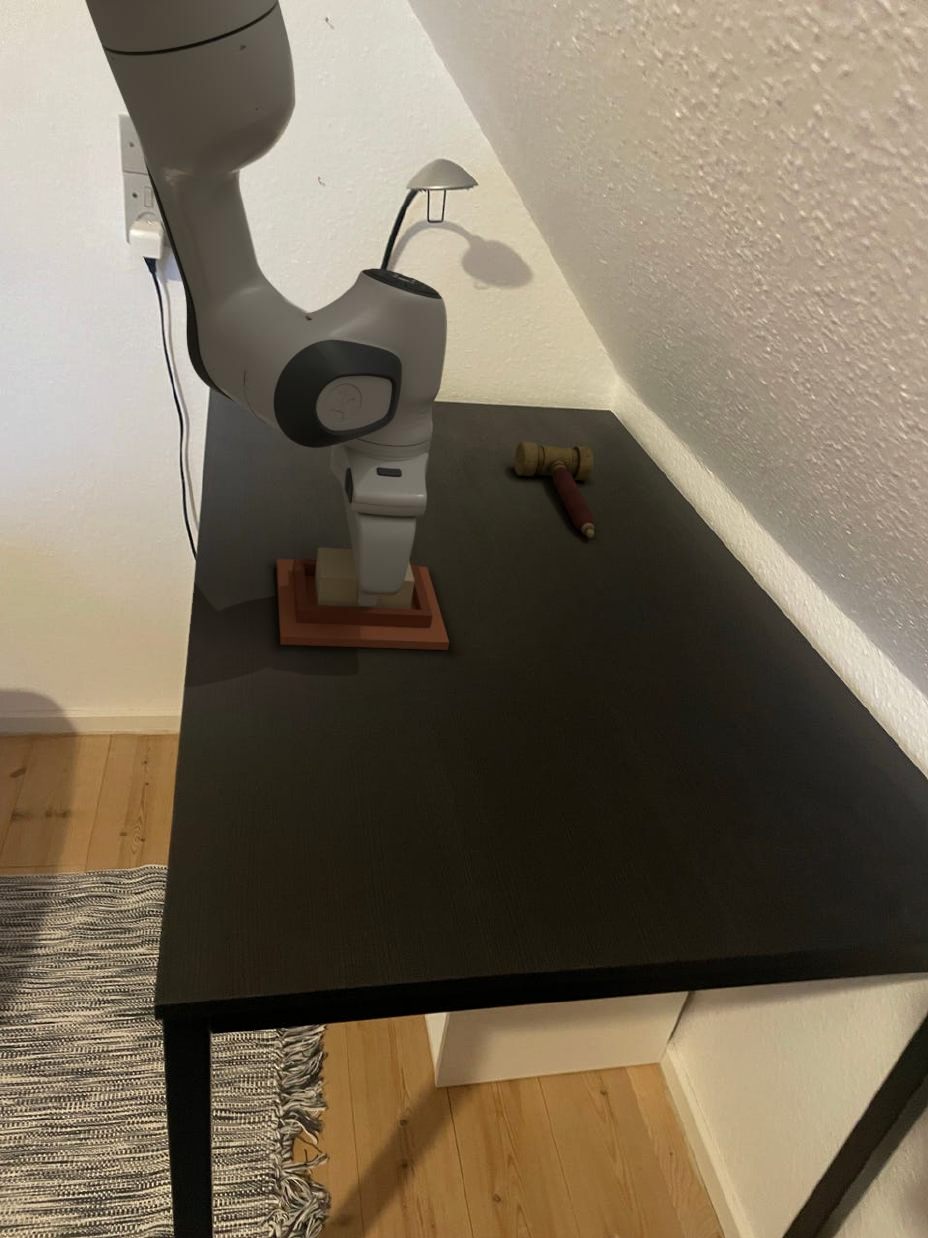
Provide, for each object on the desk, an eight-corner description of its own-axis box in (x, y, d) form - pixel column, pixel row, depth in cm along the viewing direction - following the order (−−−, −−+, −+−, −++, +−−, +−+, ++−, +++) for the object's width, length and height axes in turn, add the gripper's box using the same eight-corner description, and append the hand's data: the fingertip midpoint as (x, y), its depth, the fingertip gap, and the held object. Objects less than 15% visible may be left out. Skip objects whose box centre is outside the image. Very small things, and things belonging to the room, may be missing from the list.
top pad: (317, 611, 91) (321, 576, 89) (314, 581, 96) (318, 547, 94) (409, 615, 94) (414, 580, 92) (401, 585, 98) (407, 552, 96)
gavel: (634, 522, 115) (557, 517, 113) (623, 553, 118) (548, 548, 116) (587, 441, 132) (519, 435, 129) (579, 470, 134) (511, 464, 132)
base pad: (280, 644, 88) (282, 622, 86) (276, 566, 99) (278, 546, 98) (447, 650, 92) (451, 629, 90) (425, 574, 103) (429, 554, 102)
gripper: (336, 408, 94) (324, 530, 101) (355, 504, 77) (338, 641, 85) (399, 414, 96) (382, 534, 103) (430, 509, 79) (407, 643, 86)
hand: (362, 583), depth 94 cm, fingers closed on top pad, 5 cm apart
